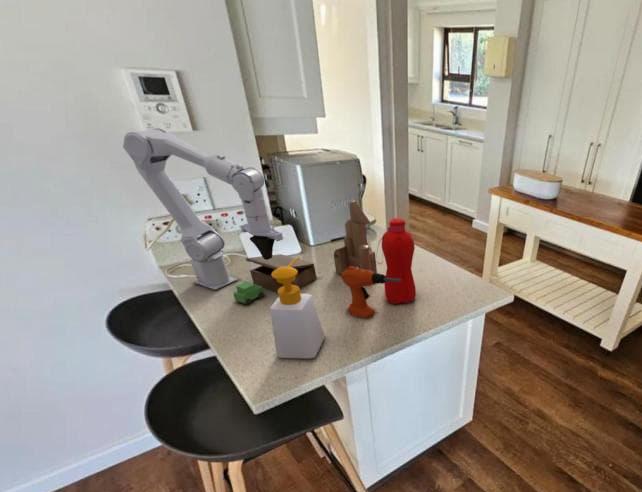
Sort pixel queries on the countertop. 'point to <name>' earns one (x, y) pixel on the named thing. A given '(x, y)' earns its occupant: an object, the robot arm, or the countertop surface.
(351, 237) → the wooden toy
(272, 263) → the lid
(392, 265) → the water bottle
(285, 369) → the countertop surface
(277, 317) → the soap bottle
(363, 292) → the toy drill
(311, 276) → the wooden box
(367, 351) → the countertop surface
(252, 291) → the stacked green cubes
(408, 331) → the countertop surface
